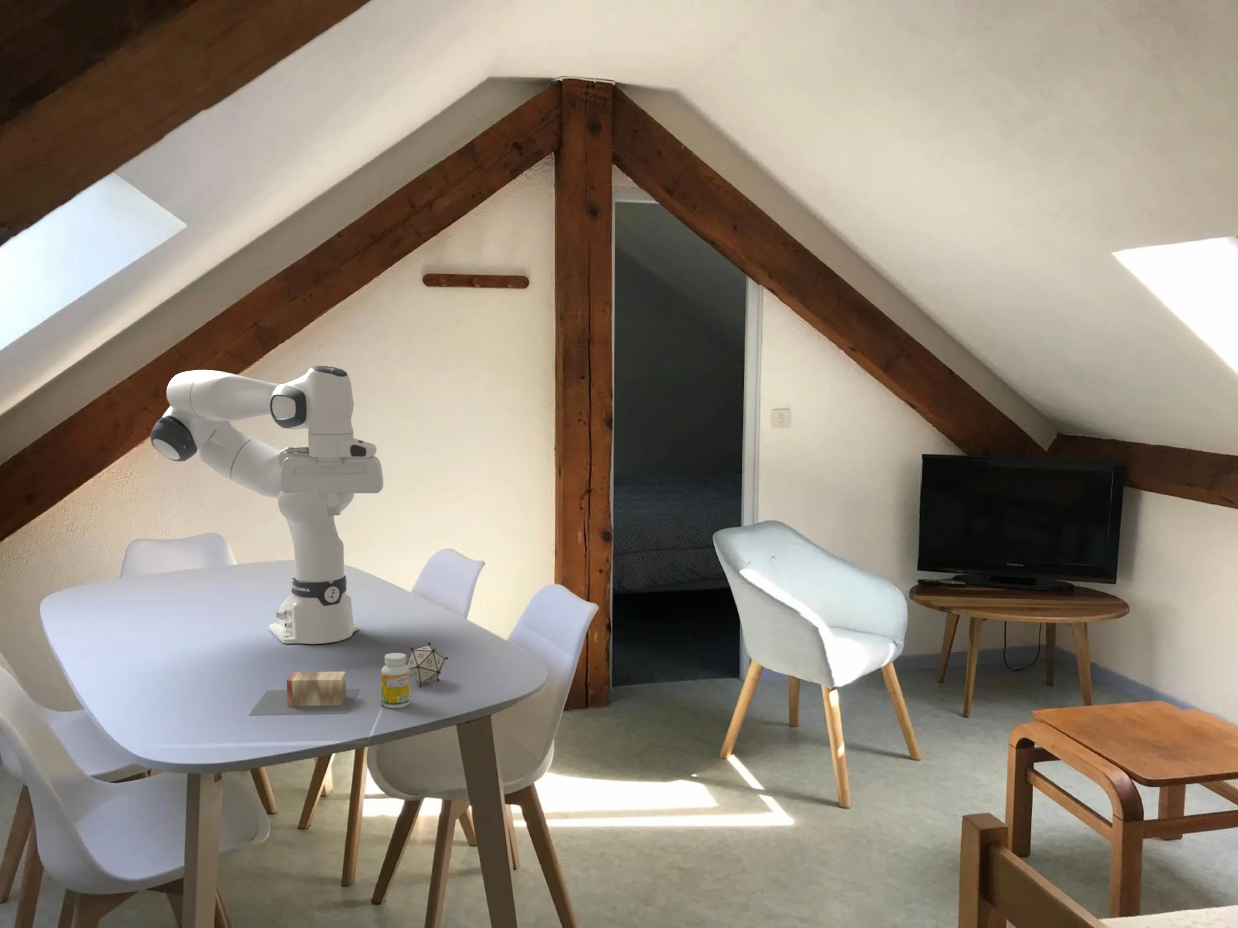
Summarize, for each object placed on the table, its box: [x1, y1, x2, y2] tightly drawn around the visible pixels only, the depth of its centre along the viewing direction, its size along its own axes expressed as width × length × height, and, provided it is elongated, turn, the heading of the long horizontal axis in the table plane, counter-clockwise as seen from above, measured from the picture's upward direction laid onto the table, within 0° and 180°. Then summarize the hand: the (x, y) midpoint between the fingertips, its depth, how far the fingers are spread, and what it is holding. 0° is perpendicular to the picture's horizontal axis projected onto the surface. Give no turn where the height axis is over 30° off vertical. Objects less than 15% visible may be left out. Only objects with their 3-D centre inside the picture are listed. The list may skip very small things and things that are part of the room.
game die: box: [406, 641, 449, 689], centre depth 213 cm, size 9×8×10 cm
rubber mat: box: [248, 688, 361, 717], centre depth 200 cm, size 18×14×1 cm
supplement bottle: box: [380, 652, 411, 709], centre depth 200 cm, size 5×5×10 cm
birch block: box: [286, 671, 347, 706], centre depth 200 cm, size 5×5×10 cm
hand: (332, 514), depth 212 cm, fingers closed
